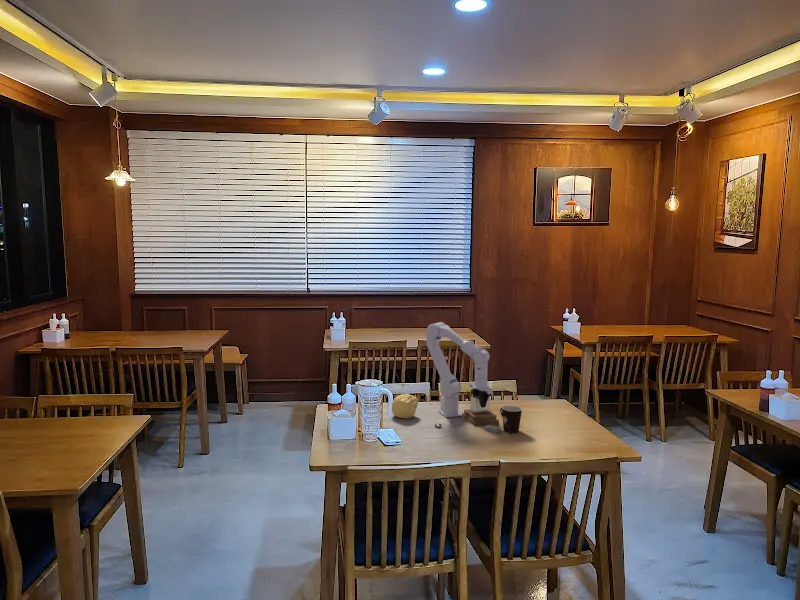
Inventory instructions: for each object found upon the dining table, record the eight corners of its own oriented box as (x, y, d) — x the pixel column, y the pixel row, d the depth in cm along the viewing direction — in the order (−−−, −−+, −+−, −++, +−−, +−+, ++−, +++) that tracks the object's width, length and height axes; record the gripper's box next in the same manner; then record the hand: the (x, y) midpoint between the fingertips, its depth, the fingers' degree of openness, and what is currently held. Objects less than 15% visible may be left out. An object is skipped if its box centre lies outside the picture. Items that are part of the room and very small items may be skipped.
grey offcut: (484, 430, 243) (485, 426, 243) (488, 429, 245) (488, 424, 245) (496, 433, 239) (496, 429, 239) (500, 432, 241) (500, 427, 241)
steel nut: (433, 426, 247) (433, 424, 247) (440, 426, 248) (440, 423, 248) (436, 428, 244) (436, 426, 244) (442, 428, 245) (442, 425, 245)
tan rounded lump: (409, 422, 252) (409, 398, 251) (386, 417, 258) (387, 395, 257) (421, 415, 262) (421, 393, 261) (399, 411, 268) (399, 389, 267)
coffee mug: (523, 434, 238) (524, 411, 237) (503, 434, 238) (503, 411, 236) (517, 425, 249) (518, 403, 248) (498, 425, 249) (498, 403, 248)
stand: (461, 416, 261) (461, 409, 261) (485, 414, 265) (485, 407, 265) (474, 425, 248) (474, 418, 248) (498, 423, 252) (499, 415, 251)
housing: (470, 409, 256) (470, 396, 255) (484, 407, 260) (484, 394, 259) (475, 411, 252) (476, 398, 252) (490, 409, 256) (490, 396, 256)
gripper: (464, 374, 259) (463, 402, 260) (483, 381, 246) (483, 411, 248) (476, 372, 262) (476, 400, 264) (496, 379, 250) (495, 409, 251)
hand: (480, 405), depth 256 cm, fingers closed on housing, 4 cm apart
